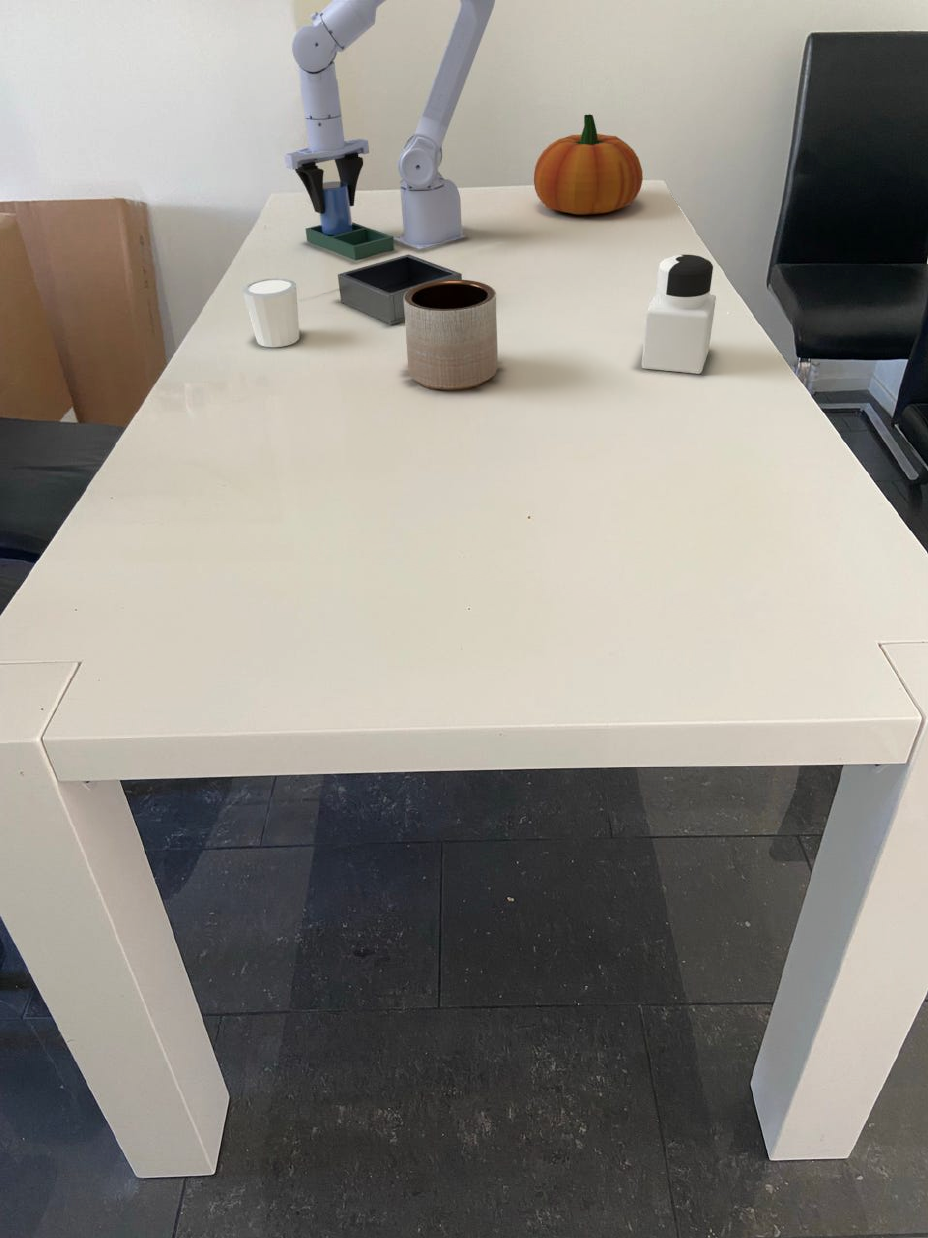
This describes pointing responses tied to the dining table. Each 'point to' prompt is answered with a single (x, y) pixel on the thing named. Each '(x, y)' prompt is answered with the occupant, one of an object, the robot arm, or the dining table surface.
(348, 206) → the cup
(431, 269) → the dark gray square tray
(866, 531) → the dining table surface
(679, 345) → the medicine bottle
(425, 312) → the planter
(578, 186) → the pumpkin
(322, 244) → the divided tray
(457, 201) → the robot arm
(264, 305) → the white jar candle
